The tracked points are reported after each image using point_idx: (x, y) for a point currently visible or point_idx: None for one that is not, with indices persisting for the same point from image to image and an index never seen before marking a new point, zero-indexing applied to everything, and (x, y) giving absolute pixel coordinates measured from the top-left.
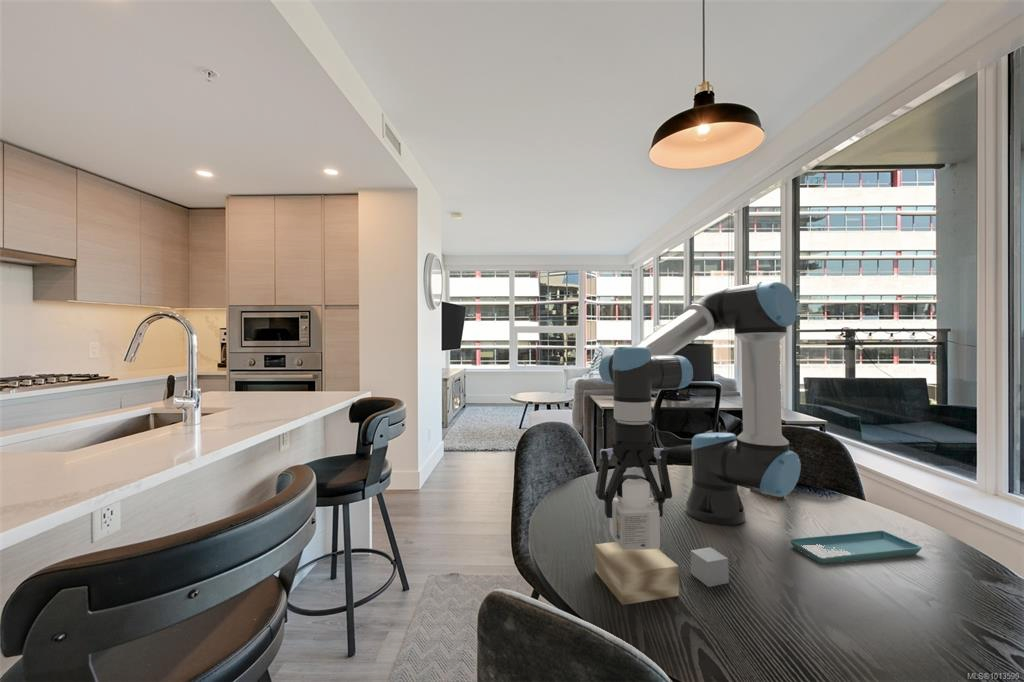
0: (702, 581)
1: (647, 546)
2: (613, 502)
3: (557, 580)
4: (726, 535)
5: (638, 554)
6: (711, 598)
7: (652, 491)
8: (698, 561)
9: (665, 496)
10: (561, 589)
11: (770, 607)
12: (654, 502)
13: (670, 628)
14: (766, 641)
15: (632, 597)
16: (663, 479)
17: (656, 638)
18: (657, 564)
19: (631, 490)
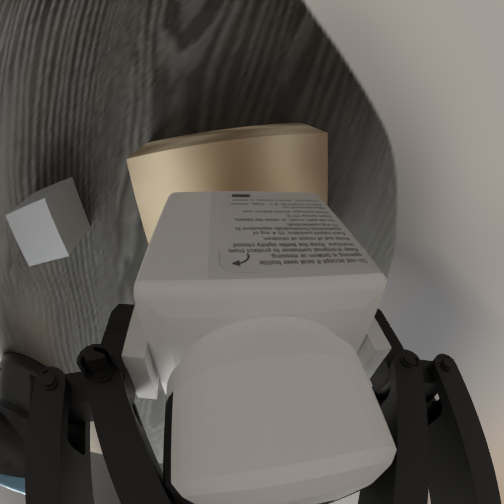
0: (77, 194)
1: (221, 194)
2: (380, 357)
3: (387, 227)
4: (20, 333)
5: None
6: (82, 133)
7: (142, 427)
8: (63, 223)
9: (72, 384)
10: (393, 198)
11: (4, 114)
12: (143, 362)
13: (229, 32)
14: (63, 11)
15: (277, 125)
16: (60, 485)
17: (276, 12)
18: (189, 170)
19: (360, 418)
